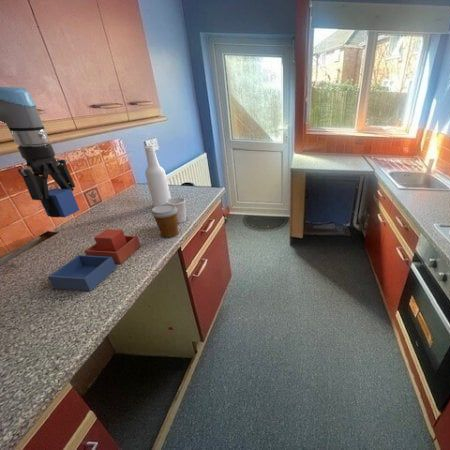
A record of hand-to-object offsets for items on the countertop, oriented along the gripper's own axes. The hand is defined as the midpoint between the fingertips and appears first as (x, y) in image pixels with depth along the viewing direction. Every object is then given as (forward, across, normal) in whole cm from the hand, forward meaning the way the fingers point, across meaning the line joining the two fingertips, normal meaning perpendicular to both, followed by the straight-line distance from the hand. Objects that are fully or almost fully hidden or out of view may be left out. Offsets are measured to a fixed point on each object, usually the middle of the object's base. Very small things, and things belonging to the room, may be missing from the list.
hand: (64, 212), depth 87 cm
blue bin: (+15, -16, -15) cm, 27 cm away
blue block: (0, 0, 0) cm, 0 cm away
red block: (+14, -2, -16) cm, 21 cm away
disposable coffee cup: (+15, +14, -28) cm, 34 cm away
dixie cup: (+15, +26, -26) cm, 40 cm away
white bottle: (+15, +42, -10) cm, 45 cm away
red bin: (+15, -2, -16) cm, 22 cm away
